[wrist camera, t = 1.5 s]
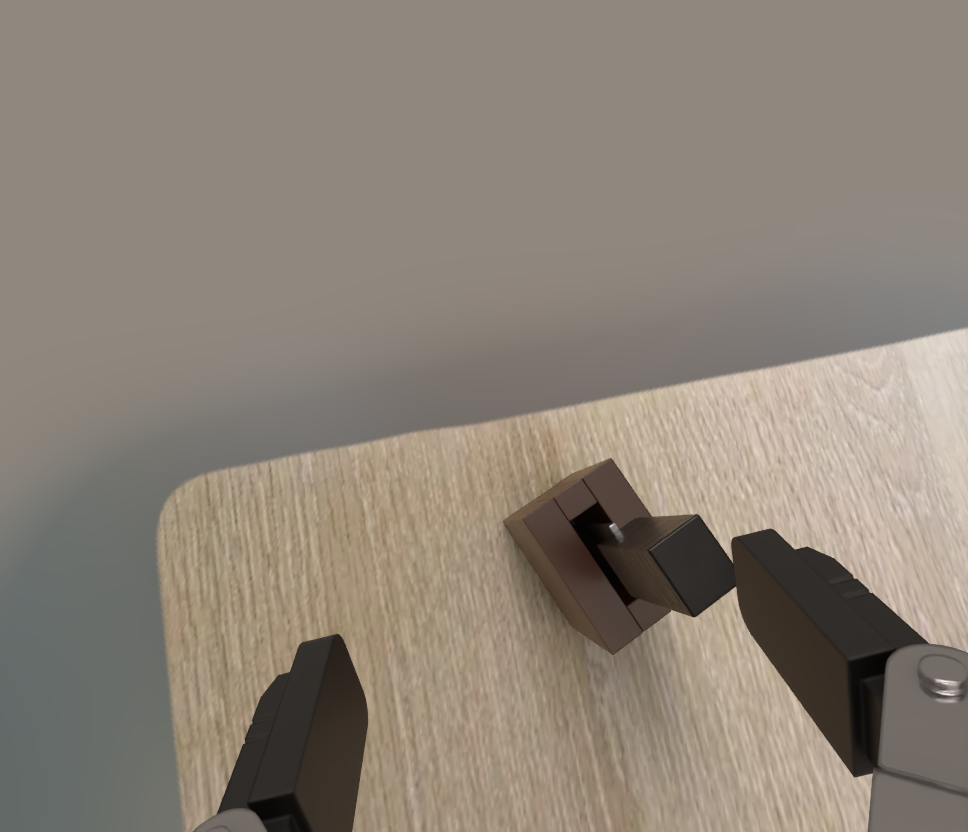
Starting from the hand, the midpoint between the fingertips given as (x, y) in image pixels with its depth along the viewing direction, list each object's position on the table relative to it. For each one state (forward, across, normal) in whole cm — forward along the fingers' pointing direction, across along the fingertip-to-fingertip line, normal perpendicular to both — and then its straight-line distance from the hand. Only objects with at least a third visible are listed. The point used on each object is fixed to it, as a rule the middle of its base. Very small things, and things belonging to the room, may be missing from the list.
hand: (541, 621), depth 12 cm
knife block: (+20, -2, +12) cm, 24 cm away
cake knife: (+20, -3, +11) cm, 23 cm away
